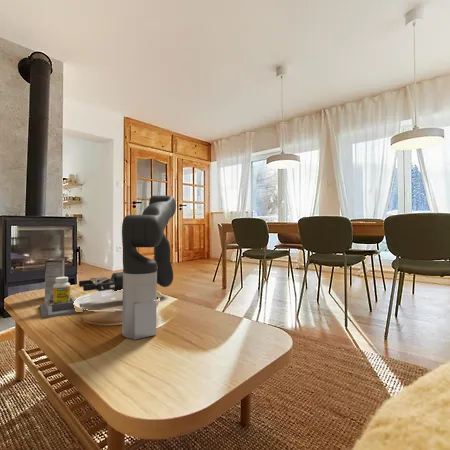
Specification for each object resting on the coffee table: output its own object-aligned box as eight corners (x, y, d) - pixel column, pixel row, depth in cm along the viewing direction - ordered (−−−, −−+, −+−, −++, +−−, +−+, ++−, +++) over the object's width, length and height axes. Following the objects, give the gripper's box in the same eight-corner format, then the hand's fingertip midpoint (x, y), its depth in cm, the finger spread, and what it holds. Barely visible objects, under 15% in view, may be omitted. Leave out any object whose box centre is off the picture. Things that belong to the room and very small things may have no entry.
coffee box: (47, 296, 119) (48, 258, 120) (64, 294, 122) (65, 257, 122) (43, 301, 111) (44, 260, 111) (62, 299, 114) (63, 259, 114)
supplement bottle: (67, 301, 105) (68, 275, 105) (72, 304, 101) (72, 277, 101) (51, 304, 101) (51, 277, 101) (54, 307, 97) (55, 279, 97)
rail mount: (83, 311, 98) (83, 303, 98) (42, 318, 91) (43, 308, 91) (75, 301, 111) (76, 294, 111) (39, 306, 103) (39, 298, 103)
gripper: (119, 269, 120) (77, 273, 110) (131, 274, 109) (85, 278, 99) (119, 287, 120) (77, 292, 110) (130, 293, 109) (84, 300, 99)
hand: (81, 285), depth 104 cm, fingers open, 8 cm apart
